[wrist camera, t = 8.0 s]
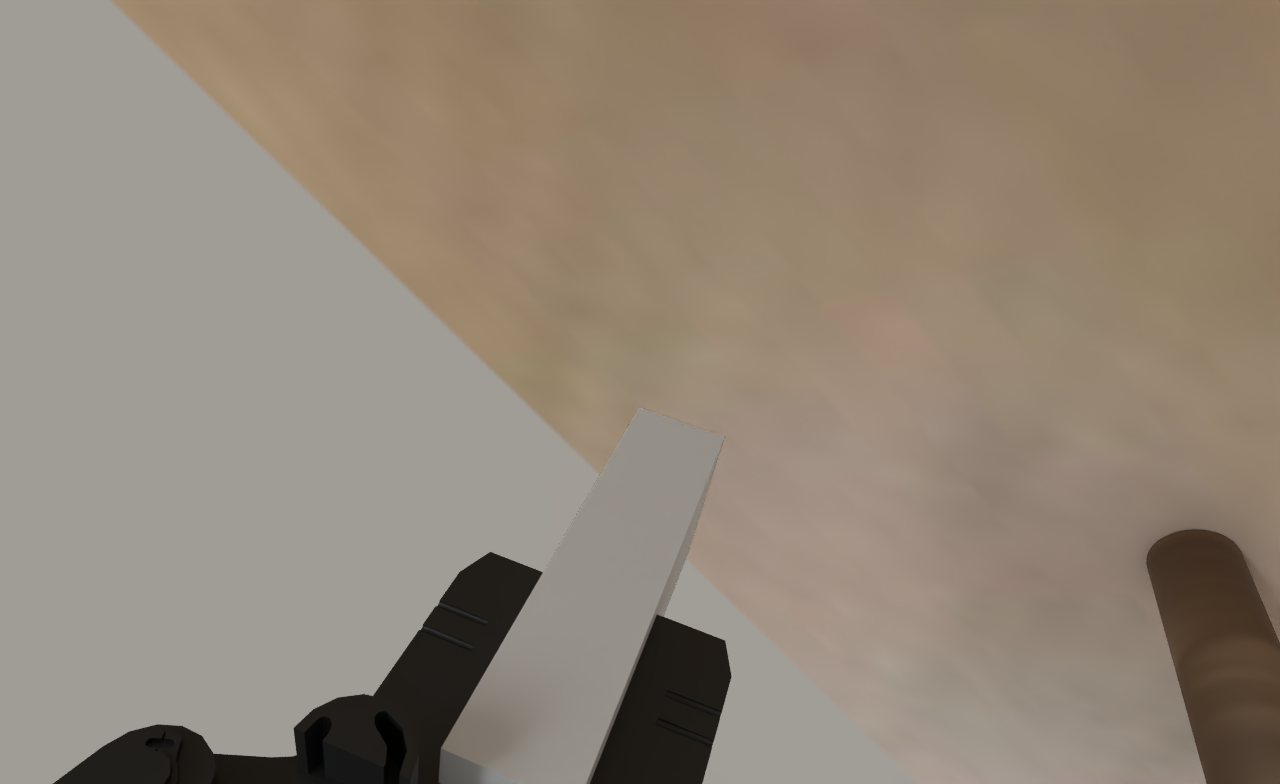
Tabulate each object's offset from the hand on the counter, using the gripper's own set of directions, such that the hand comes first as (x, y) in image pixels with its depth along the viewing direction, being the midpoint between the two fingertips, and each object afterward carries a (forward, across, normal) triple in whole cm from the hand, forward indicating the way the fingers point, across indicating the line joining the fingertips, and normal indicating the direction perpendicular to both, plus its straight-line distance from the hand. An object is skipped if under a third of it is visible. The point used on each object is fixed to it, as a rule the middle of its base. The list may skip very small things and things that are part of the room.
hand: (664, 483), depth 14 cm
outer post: (+13, +16, -7) cm, 21 cm away
